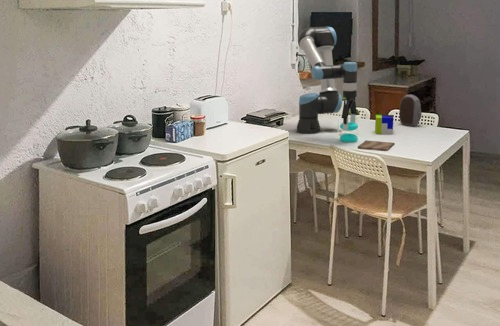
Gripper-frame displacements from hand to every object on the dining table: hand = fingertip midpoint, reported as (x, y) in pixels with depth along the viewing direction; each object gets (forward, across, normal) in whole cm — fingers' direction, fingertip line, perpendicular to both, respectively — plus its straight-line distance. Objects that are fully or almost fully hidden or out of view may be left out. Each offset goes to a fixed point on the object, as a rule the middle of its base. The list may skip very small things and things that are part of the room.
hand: (349, 127), depth 301 cm
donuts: (+8, 0, 0) cm, 8 cm away
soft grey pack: (+7, +58, -23) cm, 62 cm away
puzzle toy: (+8, +30, -13) cm, 33 cm away
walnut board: (+8, -8, -18) cm, 21 cm away
